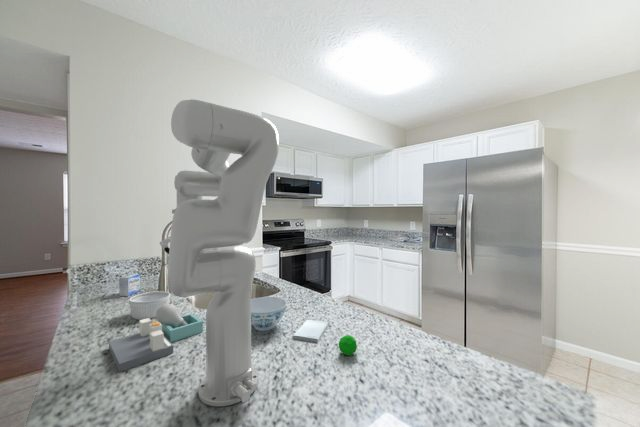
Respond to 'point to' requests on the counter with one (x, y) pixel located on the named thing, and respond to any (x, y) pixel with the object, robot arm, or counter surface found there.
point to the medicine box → (129, 285)
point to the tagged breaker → (154, 327)
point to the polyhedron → (347, 345)
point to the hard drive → (311, 331)
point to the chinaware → (266, 312)
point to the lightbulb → (169, 316)
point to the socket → (183, 328)
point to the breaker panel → (139, 347)
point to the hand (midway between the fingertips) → (190, 265)
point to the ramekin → (147, 304)
